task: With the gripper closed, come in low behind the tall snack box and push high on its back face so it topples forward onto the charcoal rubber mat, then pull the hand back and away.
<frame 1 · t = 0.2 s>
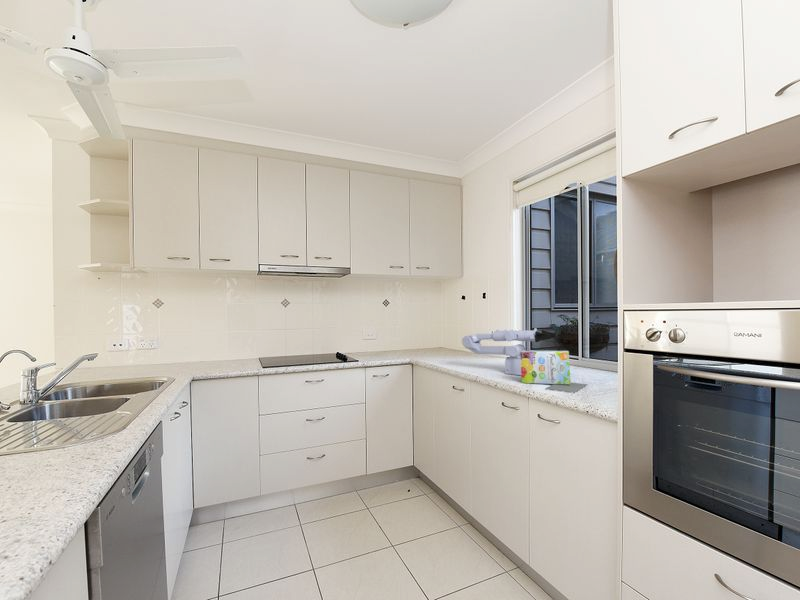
hand: (553, 336, 187), 21 cm above the countertop, tool horizontal, fingers open, 7 cm apart
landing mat: (566, 387, 164), on the countertop
snack box: (545, 383, 172), on the countertop, touching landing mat
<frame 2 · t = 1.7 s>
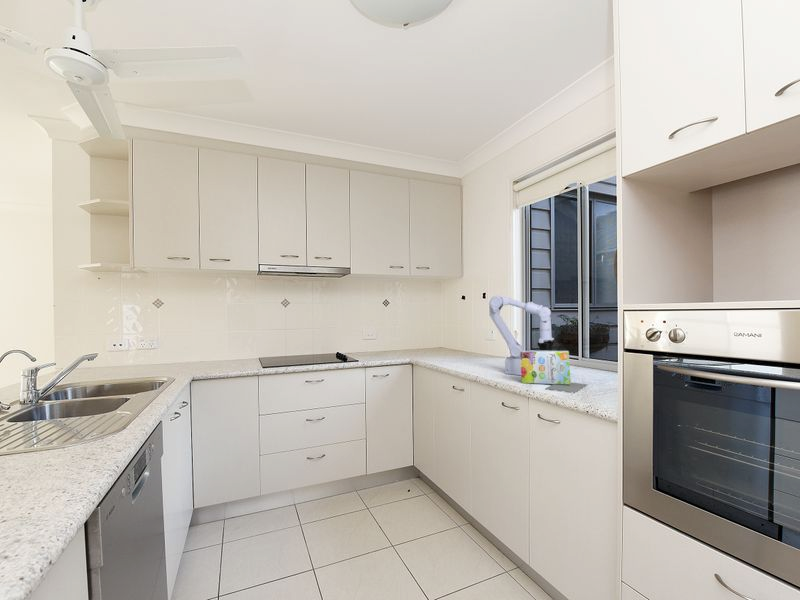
hand: (546, 355, 193), 10 cm above the countertop, tool pointing down, fingers open, 6 cm apart
nothing on the countertop moved.
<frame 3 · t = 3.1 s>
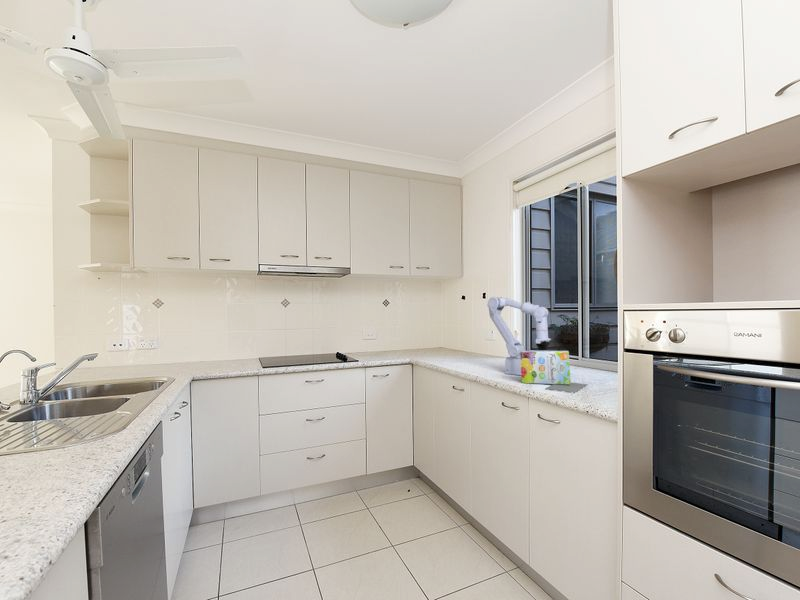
hand: (543, 356, 189), 10 cm above the countertop, tool pointing down, fingers closed
nothing on the countertop moved.
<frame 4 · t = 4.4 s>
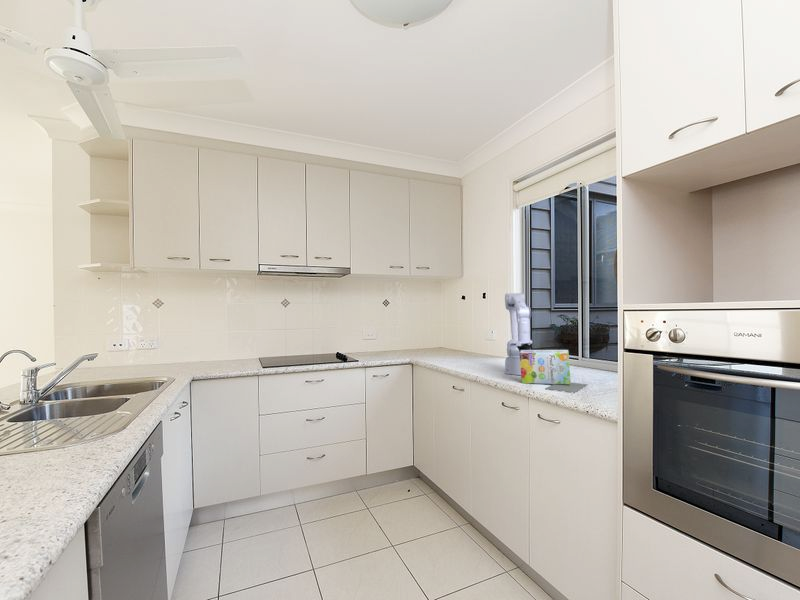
hand: (524, 359, 179), 10 cm above the countertop, tool pointing down, fingers closed
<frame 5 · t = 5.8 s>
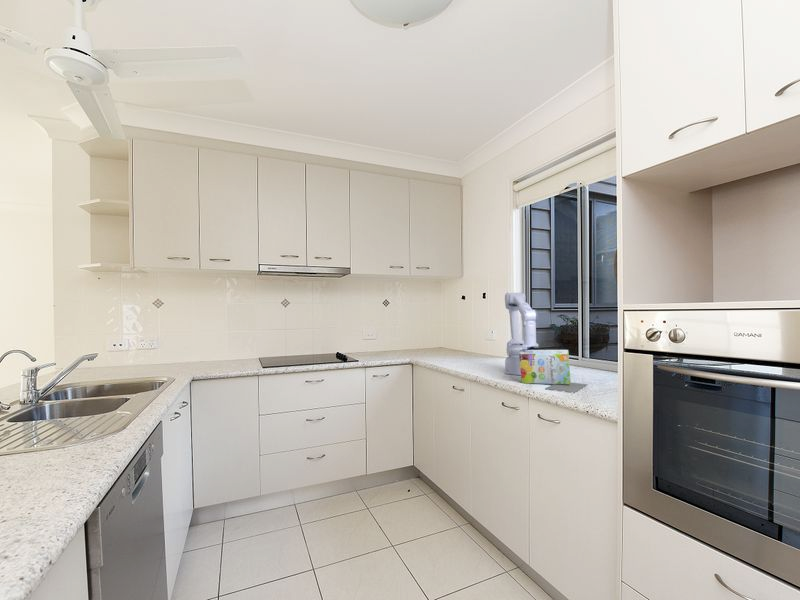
hand: (530, 363, 177), 9 cm above the countertop, tool pointing down, fingers closed
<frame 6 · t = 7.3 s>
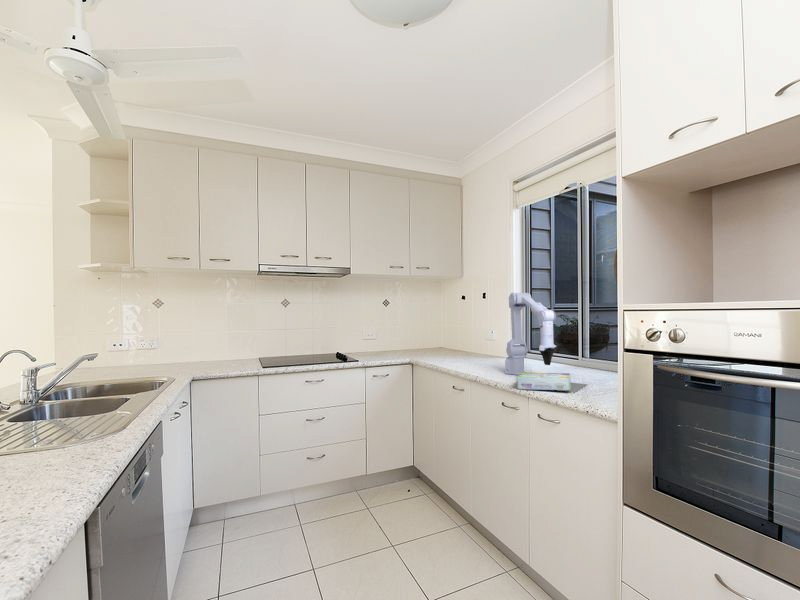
hand: (547, 364, 172), 9 cm above the countertop, tool pointing down, fingers closed
snack box: (545, 377, 170), point 3 cm above the countertop, touching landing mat
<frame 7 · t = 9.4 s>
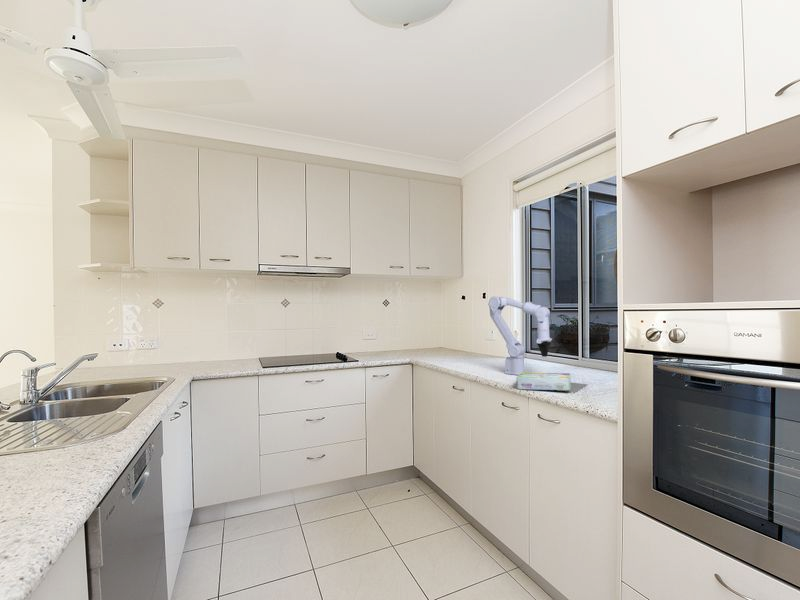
hand: (544, 356, 190), 10 cm above the countertop, tool pointing down, fingers closed
nothing on the countertop moved.
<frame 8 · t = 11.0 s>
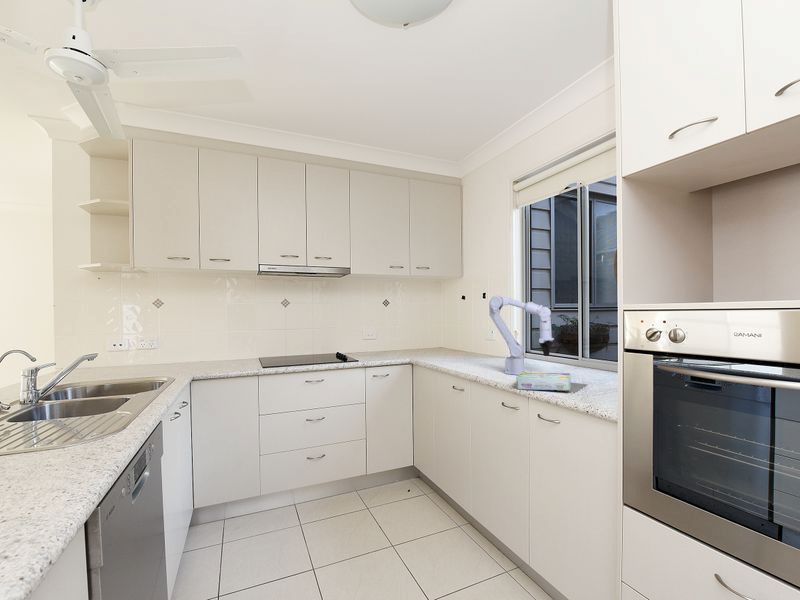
hand: (546, 355, 193), 10 cm above the countertop, tool pointing down, fingers closed
nothing on the countertop moved.
at the end: snack box tilted 90°; snack box inside the target area (4.2 cm from its centre), point 3.1 cm above the countertop; snack box touching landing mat, countertop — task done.
